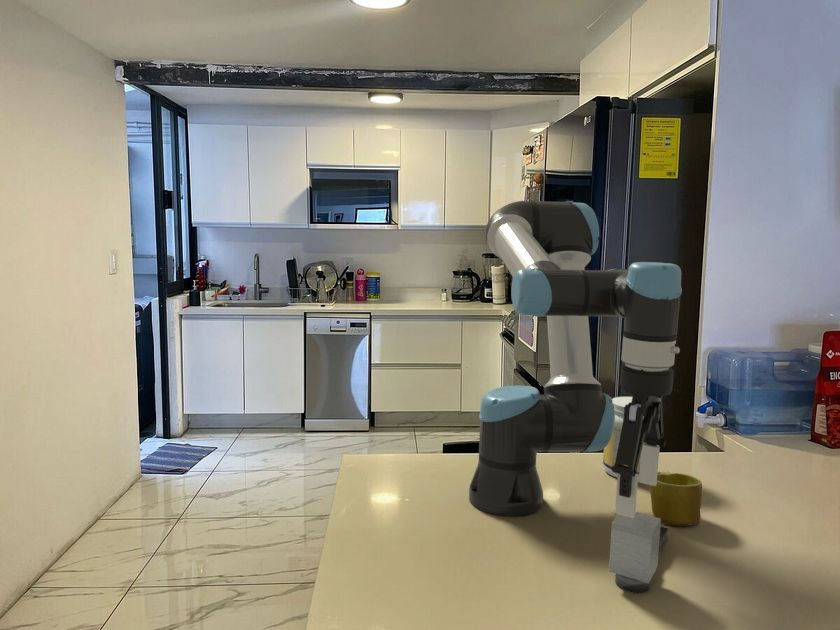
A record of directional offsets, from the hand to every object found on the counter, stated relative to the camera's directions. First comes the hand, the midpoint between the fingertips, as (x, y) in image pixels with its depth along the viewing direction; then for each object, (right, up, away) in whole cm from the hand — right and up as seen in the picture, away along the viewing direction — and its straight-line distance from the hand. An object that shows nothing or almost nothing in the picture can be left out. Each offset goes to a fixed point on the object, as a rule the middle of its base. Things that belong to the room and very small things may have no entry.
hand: (636, 498), depth 98 cm
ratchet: (+4, -13, +8) cm, 16 cm away
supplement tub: (+15, -8, +48) cm, 51 cm away
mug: (+16, -11, +27) cm, 33 cm away
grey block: (0, -11, +1) cm, 11 cm away
